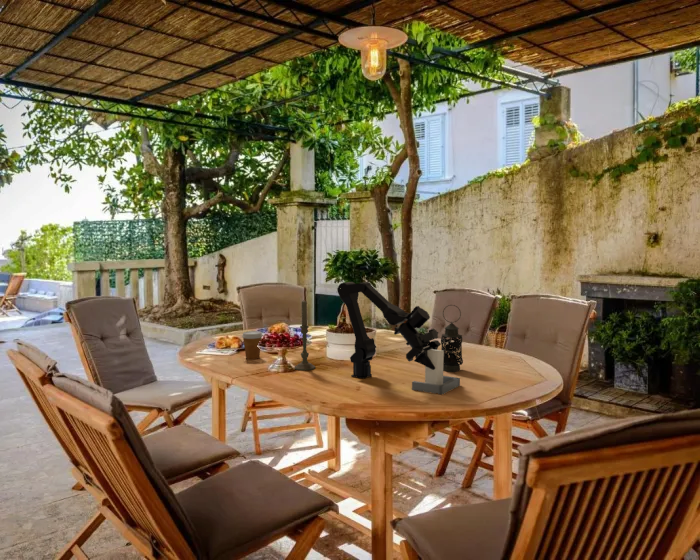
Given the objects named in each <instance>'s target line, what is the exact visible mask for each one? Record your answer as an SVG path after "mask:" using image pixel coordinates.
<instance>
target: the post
mask: <svg viewBox="0 0 700 560" xmlns="http://www.w3.org/2000/svg"><path fill="white" fill-rule="evenodd" d="M427 355H428V357H429V359H430V360H431V362H432V363H433V365H434V367H435V369H434V370H432V369H430V368H428V367H426V366H424V367H425V370H424V383H431V384H438V385H442V384H443V376H444V371H443V359H444V351H442V350H440V349H437V350H434V349H431V350H428V351H427Z"/></svg>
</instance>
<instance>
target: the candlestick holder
mask: <svg viewBox="0 0 700 560" xmlns="http://www.w3.org/2000/svg"><path fill="white" fill-rule="evenodd" d="M307 304H308V303H307V300H304V299H302V300H301V325H300V326H299V327H300V333H301V334H302V338H301V341H302V352H301V353H300V356H301V358H302V360H301V362H298V364H296V365H295V366H294V369H295V370H297V371H312V370H315V369H316V365H314V364H313V363H311V362H309V361H308V358H309V352H308V351H307V341H308V338H307V337H308V336H307V334H308V333H309V330H308V329H309V327H310V326H309V325H308V320H307V319H308V317H307V316H308V313H307V311H308V309H307V308H308V307H307Z"/></svg>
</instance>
